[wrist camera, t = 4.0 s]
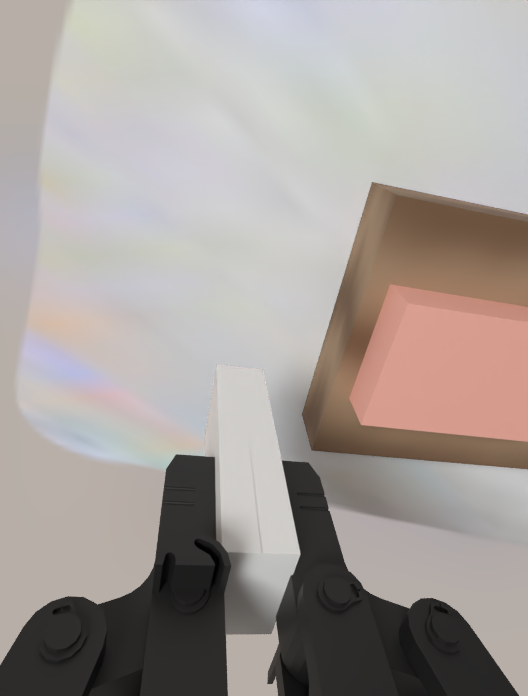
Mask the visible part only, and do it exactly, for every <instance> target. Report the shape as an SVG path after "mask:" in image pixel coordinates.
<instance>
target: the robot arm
mask: <svg viewBox="0 0 528 696" xmlns="http://www.w3.org/2000/svg"><path fill="white" fill-rule="evenodd" d="M275 622H277V630H278V637H279V645H278V648H277V650H276V653H275V656H274V658H273V661H272V663H271V666H270V668H269V671H268V684H272V683H273V681H274V679H275V677H276V680H277V688H278V696H519V695H518V694H517V692H516V691H515V689H514V688H513V686H512V685H511V683H510V682H509V681H508V679H507V678H506V676H505V675H504V674H503V672H502V671H501V669H500V668H499V666H498V665H497V664H496V662H495V661H494V659H493V658H492V657H491V655H490V654H489V652H488V651H487V649H486V648H485V647H484V645H483V644H482V642H481V641H480V639H479V638H478V637H477V635H476V634H475V632H474V631H473V629H472V628H471V627H470V625H469V624H468V623H467V621H466V620H464V618H463V617H462V616H461V615H460V614H459V613H458V611H456V610H455V609H453V608H452V607H450V606H449V605H447V604H446V603H444V602H442V601H439V600H436V599H433V598H426V599H425V598H424V599H420V600H418V601H417V602H415V603H413V605H412V606H411V608H410V609H409V608H406V607H403V606H400V605H398V604H395V603H392V602H389V601H386V600H383V599H381V598H379V597H376V596H374V595H372V594H370V593H369V592H367V591H366V590H364V589H363V587H362V585H361V583H360V582H359V581H358V580H357V579H356V577H355V576H354V575H353V574H352V573H351V572H349V571H348V569H347V567H346V565H345V562H344V559H343V555H342V552H341V548H340V545H339V542H338V538H337V535H336V531H335V528H334V525H333V521H332V518H331V514H330V511H328V504H327V501H326V497H324V491H323V487H322V484H321V480H320V477H319V476H318V475H317V473H316V472H315V471H314V470H313V468H312V467H311V466H310V464H309V463H306V462H292V461H282V460H281V455H280V450H279V445H278V440H277V435H276V430H275V425H274V420H273V415H272V410H271V405H270V401H269V396H268V391H267V386H266V381H265V376H264V371H263V369H254V368H245V367H236V366H228V365H219V364H217V366H216V372H215V378H214V384H213V390H212V395H211V401H210V407H209V413H208V419H207V425H206V430H205V456H191V455H176V456H175V457H174V459H173V460H172V461H171V463H170V464H169V466H168V467H167V469H166V476H165V484H164V492H163V500H162V508H161V516H160V525H159V533H158V542H157V550H156V559H155V563H154V568H153V570H152V571H151V573H150V575H149V577H148V578H147V579H146V580H145V582H144V583H143V584H142V585H141V586H140V587H138V588H137V589H135V590H134V591H133V592H132V593H129V594H127V595H125V596H123V597H120V598H117V599H114V600H111V601H108V602H105V603H101V604H98V605H97V604H96V603H94V602H92V601H90V600H88V599H86V598H84V597H69V596H68V597H65V598H61V599H58V600H55V601H52V602H50V603H48V604H47V605H46V606H44V607H43V608H41V609H40V610H38V611H37V612H35V614H34V615H33V616H32V617H31V619H30V620H29V621H28V622H27V623H26V625H25V626H24V627H23V629H22V630H21V632H20V634H19V635H18V637H17V639H16V641H15V642H14V644H13V645H12V647H11V649H10V650H9V652H8V654H7V655H6V657H5V658H4V660H3V662H2V663H1V665H0V696H228V691H227V665H226V664H227V660H226V634H271V633H272V630H273V628H274V625H275Z"/></svg>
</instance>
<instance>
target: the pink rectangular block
mask: <svg viewBox="0 0 528 696" xmlns="http://www.w3.org/2000/svg"><path fill="white" fill-rule="evenodd" d="M349 399H350V402H351V404H352V406H353V408H354V411H355V413H356V415H357V417H358V420H359V422H360V424H361V425H366V426H376V427H386V428H396V429H406V430H416V431H426V432H436V433H446V434H456V435H466V436H475V437H485V438H495V439H505V440H515V441H525V442H528V307H524V306H518V305H512V304H506V303H500V302H494V301H488V300H482V299H476V298H470V297H464V296H458V295H451V294H445V293H439V292H433V291H427V290H421V289H415V288H409V287H403V286H397V285H391V284H390V286H389V289H388V292H387V295H386V297H385V300H384V303H383V306H382V308H381V311H380V314H379V317H378V320H377V322H376V325H375V328H374V331H373V333H372V336H371V339H370V342H369V345H368V347H367V350H366V353H365V356H364V359H363V361H362V364H361V367H360V370H359V372H358V375H357V378H356V381H355V384H354V386H353V389H352V392H351V395H350V397H349Z"/></svg>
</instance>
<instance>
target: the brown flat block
mask: <svg viewBox="0 0 528 696" xmlns="http://www.w3.org/2000/svg"><path fill="white" fill-rule="evenodd" d="M390 284H391V285H397V286H403V287H409V288H415V289H421V290H427V291H433V292H439V293H445V294H451V295H458V296H464V297H470V298H476V299H482V300H488V301H494V302H500V303H506V304H512V305H518V306H524V307H528V215H527V214H522V213H517V212H513V211H508V210H503V209H498V208H493V207H489V206H484V205H479V204H474V203H469V202H465V201H460V200H455V199H450V198H445V197H441V196H436V195H431V194H426V193H421V192H417V191H412V190H407V189H402V188H397V187H393V186H388V185H383V184H378V183H373V182H372V184H371V188H370V191H369V194H368V198H367V201H366V204H365V208H364V211H363V214H362V218H361V221H360V224H359V227H358V231H357V234H356V237H355V241H354V244H353V247H352V251H351V254H350V257H349V261H348V264H347V267H346V270H345V274H344V277H343V280H342V284H341V287H340V290H339V294H338V297H337V300H336V304H335V307H334V310H333V313H332V317H331V320H330V323H329V327H328V330H327V333H326V337H325V340H324V343H323V347H322V350H321V353H320V356H319V360H318V363H317V366H316V370H315V373H314V376H313V380H312V383H311V386H310V390H309V393H308V396H307V399H306V403H305V406H304V409H303V413H302V416H303V420H304V424H305V427H306V431H307V435H308V438H309V442H310V446H311V449H312V450H314V451H325V452H337V453H348V454H360V455H371V456H383V457H394V458H406V459H417V460H428V461H440V462H451V463H463V464H474V465H486V466H497V467H509V468H520V469H528V442H525V441H515V440H505V439H495V438H485V437H475V436H466V435H456V434H446V433H436V432H426V431H416V430H406V429H396V428H386V427H376V426H366V425H361V424H360V422H359V420H358V417H357V415H356V413H355V411H354V408H353V406H352V404H351V402H350V399H349V397H350V395H351V392H352V389H353V386H354V384H355V381H356V378H357V375H358V372H359V370H360V367H361V364H362V361H363V359H364V356H365V353H366V350H367V347H368V345H369V342H370V339H371V336H372V333H373V331H374V328H375V325H376V322H377V320H378V317H379V314H380V311H381V308H382V306H383V303H384V300H385V297H386V295H387V292H388V289H389V286H390Z"/></svg>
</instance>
